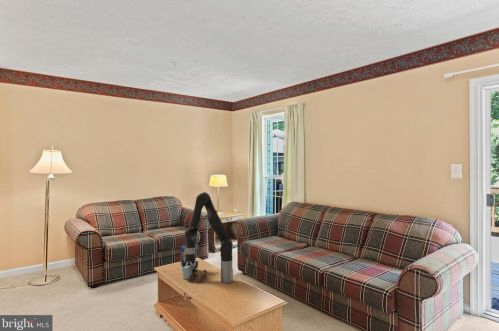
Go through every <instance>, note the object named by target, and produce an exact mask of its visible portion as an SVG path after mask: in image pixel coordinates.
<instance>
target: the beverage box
mask: <svg viewBox="0 0 499 331" xmlns="http://www.w3.org/2000/svg"><path fill="white" fill-rule="evenodd" d="M196 250H197V248H196V245H195V261H197V260H196V259H197V258H196V253H197V252H196ZM183 259H184V260H185V259H186V245H182V246H180V272H181V273H182V274H183V270H182V268H184V267H182V260H183ZM194 264H195V262H194ZM185 265H186V261H185ZM195 265H196V264H195Z"/></svg>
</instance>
